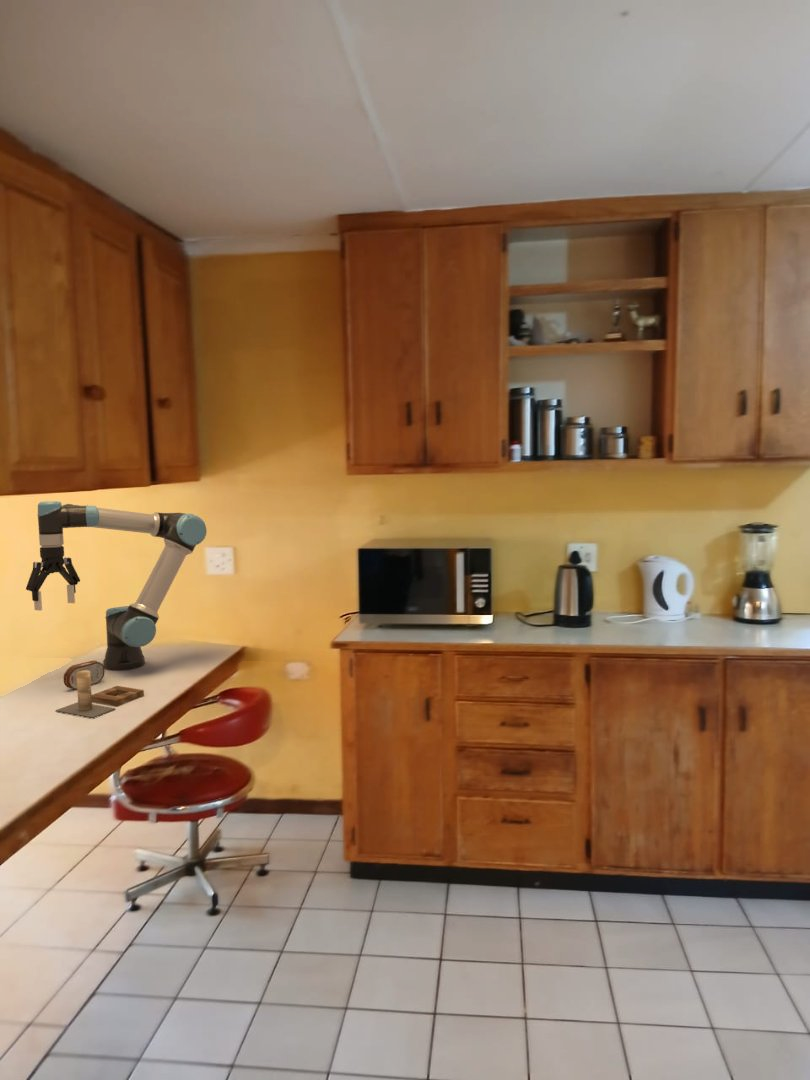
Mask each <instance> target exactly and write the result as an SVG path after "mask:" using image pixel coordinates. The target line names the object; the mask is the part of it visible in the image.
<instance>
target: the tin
mask: <svg viewBox="0 0 810 1080" xmlns="http://www.w3.org/2000/svg"><path fill="white" fill-rule="evenodd" d="M83 670H89V671H90V680H91V686H94V685H97V684H98V683H99V684H100V682H101V681H102V680H103V679H104V677H105V671H106V670H105V668H104V666H103V663H102V662H100V661H97V660H90V661H89V660H88V661H86V662H81V663H77V664H73V665H71V666H70V667H68V668H67V669H66V670H65V672H64V674H63V684H64V686H65V687H67V688H68V689H72V690H77V678H76V672H78V671H83ZM93 684H94V685H93Z"/></svg>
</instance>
